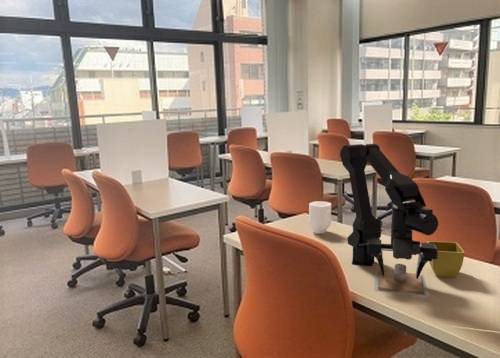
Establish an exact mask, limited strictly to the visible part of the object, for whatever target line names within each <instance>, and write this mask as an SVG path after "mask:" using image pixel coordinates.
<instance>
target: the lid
mask: <svg viewBox="0 0 500 358" xmlns="http://www.w3.org/2000/svg"><path fill="white" fill-rule="evenodd" d="M377 271H378V290H386V291H396V292H405V293H415V294H424V289H423V284H422V280H421V274H420V275H419V277H418V279H416V272H415V273H413V272H407V265H406V264H404V263H403V264H402V263H396V264H394V271H393V270H392V271H391V270H384V276H383V275H382V272H381V269H380V270H377Z"/></svg>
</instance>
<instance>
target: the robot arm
mask: <svg viewBox="0 0 500 358" xmlns="http://www.w3.org/2000/svg"><path fill="white" fill-rule="evenodd" d="M380 148H381V147H380V146H379V145H378V144H377V143H364V144H362V143H357V144H345V145H343V146H342V148H341V149H340V150H339V157H340V159H341V163H342V166H343V167H344V168H345V170H346V171H347V173H348V175H349V180H350V187H351V193H352V200H353V205H354V211H355V218H354V221H353V223H352V232H350V234H349V235H348V236H347V240H346V241H347V245H349V246H351V247H352V260H351V265H354V266H355V265H356V266H365V267H366V266H367V267H373V264H374V263H375V259H376V261H377V263H378V265H379V268H380V270H381V272H382V275H383V276H384V271H385V265H384V256H383V251H387V252H392V257H393V258H394V259H404V260H406V261H407V260H408V261H409V260H412V258H413V256H417V255H418V257H417V258H418V259H417V264H416V265H417V266H416V270H415V274H416V279H418V277H419V275H421V273H422V271H423V268H424V267H425V265H426V264H427V263H428V262H429V261H432V259H438V250H437V247H436V245H435V244H434V243H427V242H420V241H419V240H413V234H414V233H413V231H414V232H417V233H420V234H422V235H424V236H432V235H433V234H435V232H436V231H437V229H438V228H439V221H438V218H437V216H436V215H435V214H434V210H433V209H431V208H426V207H427V204H426V202H425V199H424V198H423V195H422V192H421V191H420V189H419V186H418V184H417V183H416V182H415V181H414V180H413V179H412V178H411V177H409V176H407V175H405V174H403V173H401V172H400V171H398V169H397V168H396V167H395V165H393V164H392V163H391V161H390V160H389V159H388V157H387V156H386V155H385V154H384V152H382V150H381V149H380ZM367 164H369V165H370V166H371V168H372V169H373V170H374V171H375V172H376V174H378V176H379V177H380V178H381V180H382V181H383V182H384V187H385V188H384V189H385V192H386V194H387V196H388V198H389V199H390V202H388V203H387V204H386V206H387V207H388V208H391V227H390V228H391V230H390V243H382V239H381V237H382V232H383V230H382V228H381V219H379V218H376V217H375V216H374V215H373V213H372V208H371V207H372V205H371V202H370V201H371V200H370V195H369V194H370V193H369V190H368V189H369V188H368V183H367V177H366V167H367Z"/></svg>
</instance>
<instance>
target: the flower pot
mask: <svg viewBox="0 0 500 358" xmlns="http://www.w3.org/2000/svg"><path fill="white" fill-rule="evenodd" d="M426 243H434V244H435V245H436V247H437V250H438V259H432V261H428V262H429V265H430V268H431V269H432V271H433V273H434V276H435V277H438V278H439V277H440V278H441V277H442V278H455V277H456V276H457V275H458V274H459V273H460V272H461V269H462V266H463V262H464V259H465V258H464V257H465V253H466V252H465V251H464V249H463V248H462V247H461V245H459V243H458V242H455V241H439V240H438V241H434V240H433V241H432V240H429V241H427V242H426Z"/></svg>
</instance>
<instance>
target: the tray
mask: <svg viewBox="0 0 500 358" xmlns="http://www.w3.org/2000/svg"><path fill="white" fill-rule="evenodd" d="M420 275H421V274H420ZM421 280H422V284H423V289H424V294H415V293H405V292H396V291H386V290H378V270H377V271H376V270H375V271H374V292H382V293H389V294H398V295H400V294H401V295H410V296H419V297H429V294H428V289H427V286H426V285H427V284H426V281H425V277H424V275H421Z"/></svg>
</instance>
